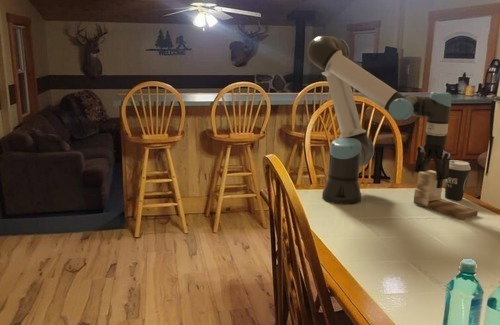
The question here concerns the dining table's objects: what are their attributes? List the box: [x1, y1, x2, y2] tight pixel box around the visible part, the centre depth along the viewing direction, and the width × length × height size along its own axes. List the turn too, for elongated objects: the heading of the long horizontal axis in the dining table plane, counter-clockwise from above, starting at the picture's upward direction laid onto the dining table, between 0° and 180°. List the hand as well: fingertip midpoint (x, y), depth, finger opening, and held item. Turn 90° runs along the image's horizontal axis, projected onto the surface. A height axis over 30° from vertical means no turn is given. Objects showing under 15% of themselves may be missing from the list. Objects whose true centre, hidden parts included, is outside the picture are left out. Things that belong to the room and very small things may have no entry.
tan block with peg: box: [413, 169, 444, 206], centre depth 180 cm, size 6×10×12 cm, turn 121°
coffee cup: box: [444, 159, 472, 202], centre depth 189 cm, size 10×10×15 cm
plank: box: [413, 198, 479, 221], centre depth 177 cm, size 21×9×2 cm, turn 31°
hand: (428, 193), depth 180 cm, fingers closed on tan block with peg, 6 cm apart
